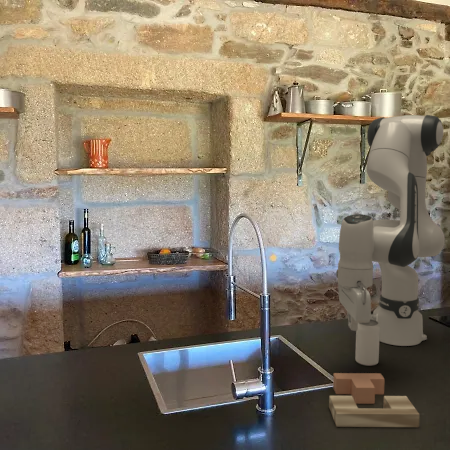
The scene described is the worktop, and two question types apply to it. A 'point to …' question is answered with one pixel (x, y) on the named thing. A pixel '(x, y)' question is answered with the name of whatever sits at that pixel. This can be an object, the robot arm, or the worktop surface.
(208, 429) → the worktop surface
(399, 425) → the dock
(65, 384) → the worktop surface
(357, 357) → the can
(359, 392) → the t block
